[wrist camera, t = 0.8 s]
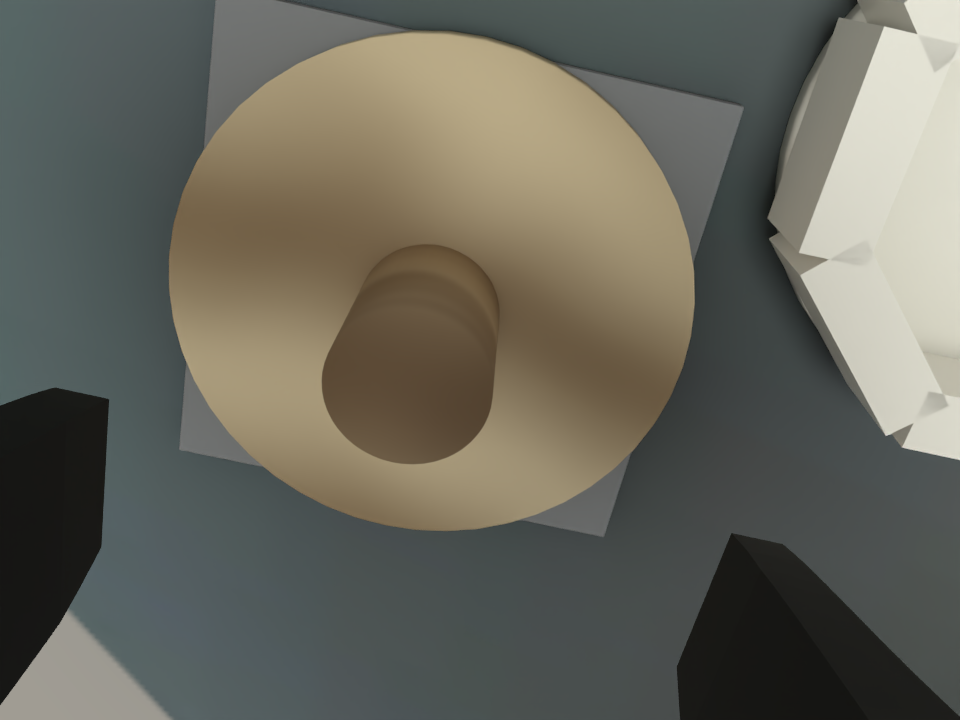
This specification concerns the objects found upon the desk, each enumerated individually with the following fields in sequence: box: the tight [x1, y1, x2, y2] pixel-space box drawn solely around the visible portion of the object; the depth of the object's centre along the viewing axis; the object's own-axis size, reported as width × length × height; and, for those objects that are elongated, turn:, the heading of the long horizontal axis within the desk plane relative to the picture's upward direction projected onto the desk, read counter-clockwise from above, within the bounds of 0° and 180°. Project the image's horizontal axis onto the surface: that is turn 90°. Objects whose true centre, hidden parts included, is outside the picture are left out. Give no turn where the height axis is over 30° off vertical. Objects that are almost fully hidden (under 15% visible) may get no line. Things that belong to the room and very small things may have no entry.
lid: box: [169, 30, 695, 531], centre depth 17 cm, size 10×10×4 cm
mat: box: [179, 0, 744, 537], centre depth 19 cm, size 10×10×1 cm
